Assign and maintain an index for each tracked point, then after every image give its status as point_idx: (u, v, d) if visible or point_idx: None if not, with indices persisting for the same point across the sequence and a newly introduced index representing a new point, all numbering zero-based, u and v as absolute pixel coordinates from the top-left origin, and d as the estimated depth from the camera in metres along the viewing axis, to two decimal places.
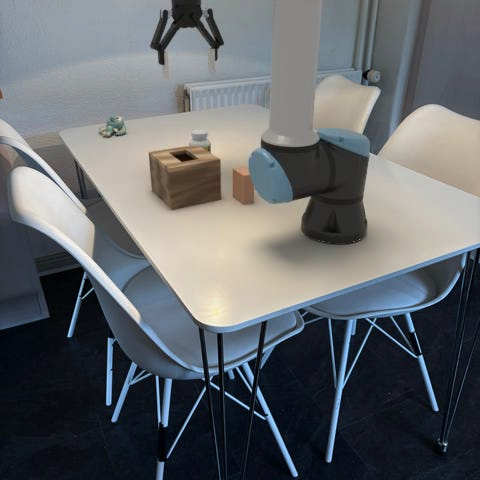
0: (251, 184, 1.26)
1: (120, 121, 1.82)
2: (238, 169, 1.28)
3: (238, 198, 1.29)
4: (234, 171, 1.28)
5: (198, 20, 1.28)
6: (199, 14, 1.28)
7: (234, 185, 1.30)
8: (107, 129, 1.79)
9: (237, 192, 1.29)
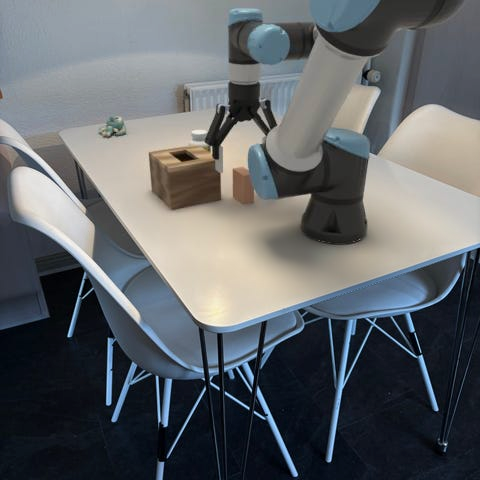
0: (251, 184, 1.26)
1: (120, 121, 1.82)
2: (238, 169, 1.28)
3: (238, 198, 1.29)
4: (234, 171, 1.28)
5: (256, 113, 1.20)
6: (257, 107, 1.20)
7: (234, 185, 1.30)
8: (107, 129, 1.79)
9: (237, 192, 1.29)
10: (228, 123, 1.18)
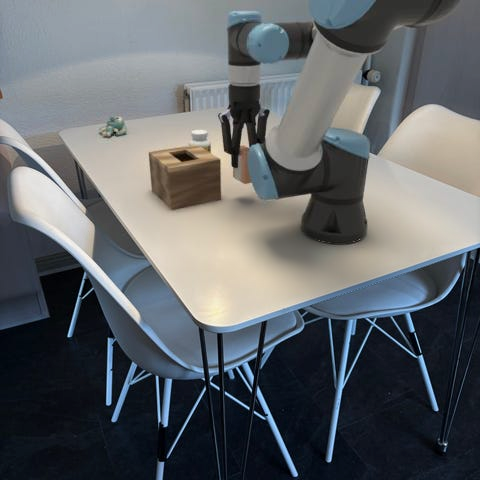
0: None
1: (120, 121, 1.82)
2: None
3: None
4: None
5: (253, 117, 1.19)
6: (256, 109, 1.20)
7: None
8: (107, 129, 1.79)
9: None
10: (236, 130, 1.20)
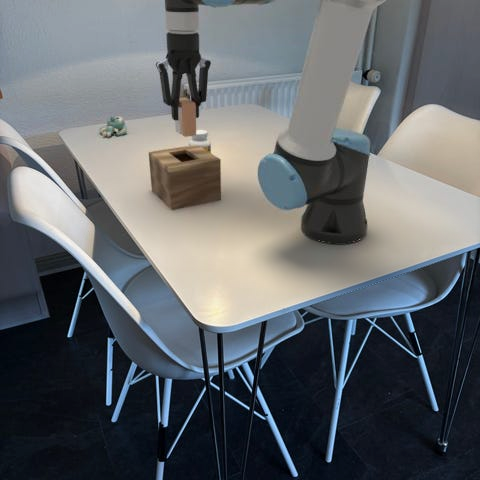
0: (192, 114, 1.21)
1: (120, 121, 1.82)
2: (180, 99, 1.23)
3: None
4: None
5: (193, 68, 1.17)
6: (196, 59, 1.17)
7: None
8: (107, 129, 1.79)
9: None
10: (175, 80, 1.17)
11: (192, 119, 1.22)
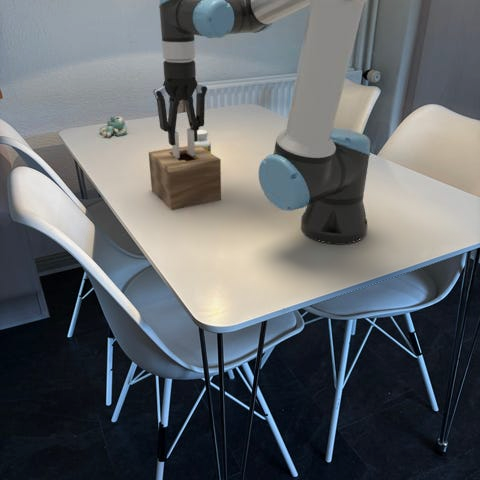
0: None
1: (121, 121, 1.82)
2: None
3: None
4: None
5: (190, 94, 1.20)
6: (193, 86, 1.20)
7: None
8: (107, 129, 1.79)
9: None
10: (172, 106, 1.20)
11: None
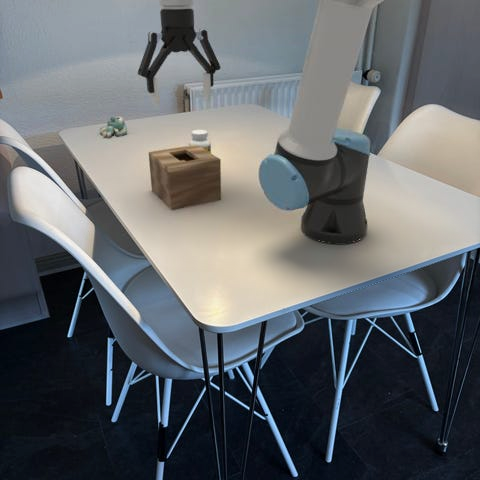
0: None
1: (121, 121, 1.82)
2: None
3: None
4: None
5: (191, 43, 1.15)
6: (192, 36, 1.15)
7: None
8: (108, 129, 1.79)
9: None
10: (162, 53, 1.13)
11: None
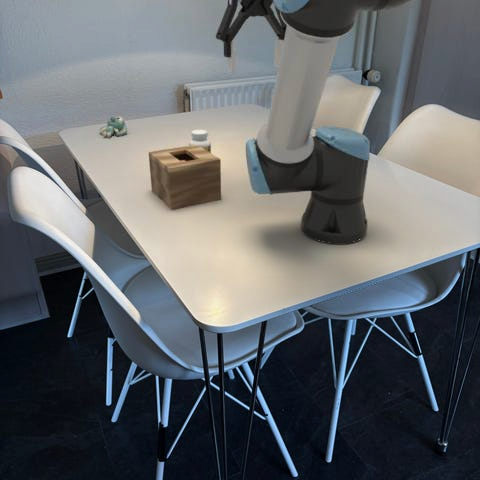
0: None
1: (121, 121, 1.82)
2: None
3: None
4: None
5: (269, 8, 1.15)
6: (270, 1, 1.15)
7: None
8: (108, 129, 1.79)
9: None
10: (240, 17, 1.14)
11: None
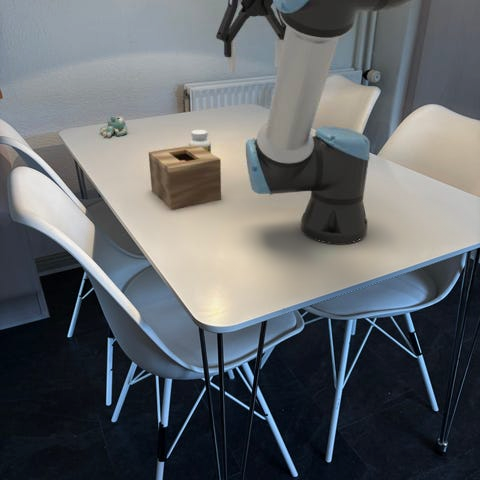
0: None
1: (121, 121, 1.82)
2: None
3: None
4: None
5: (269, 7, 1.15)
6: (270, 1, 1.15)
7: None
8: (108, 129, 1.79)
9: None
10: (241, 17, 1.14)
11: None
